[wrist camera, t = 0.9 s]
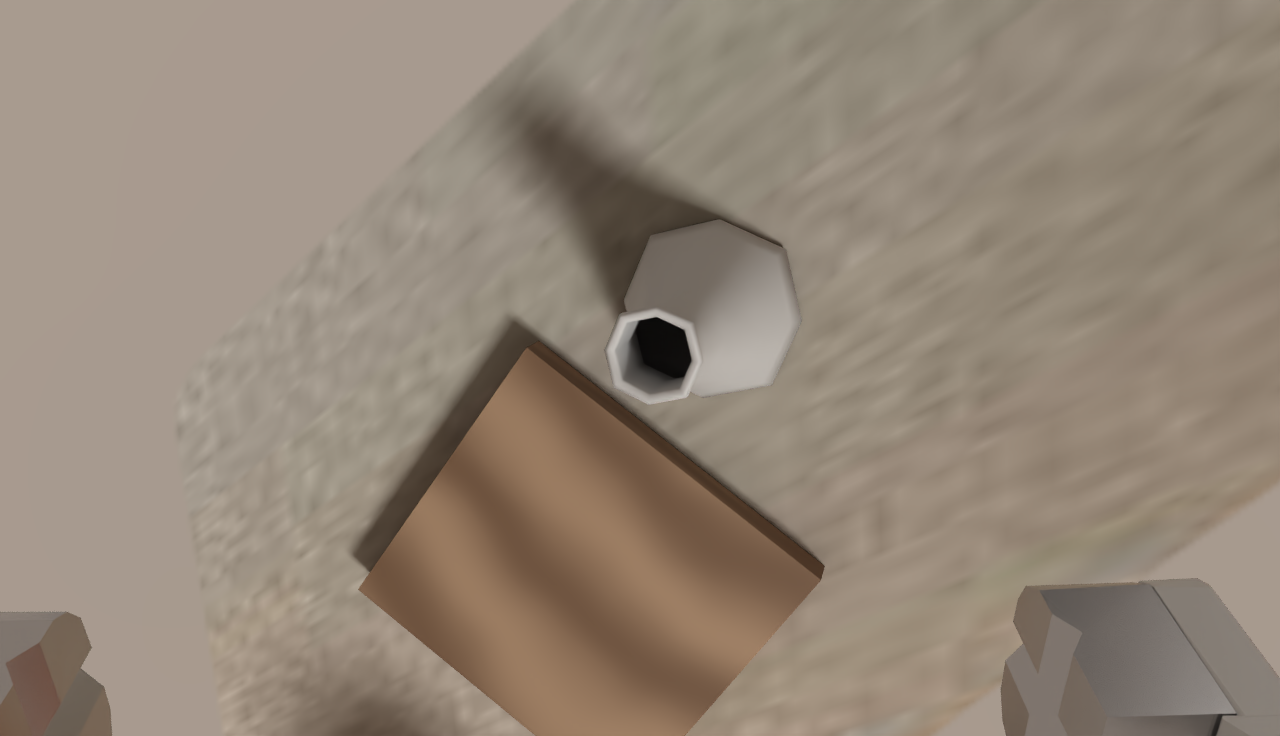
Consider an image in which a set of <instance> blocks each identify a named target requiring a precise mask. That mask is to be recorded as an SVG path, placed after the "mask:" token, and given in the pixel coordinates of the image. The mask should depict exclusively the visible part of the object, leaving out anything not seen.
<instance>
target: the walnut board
mask: <svg viewBox="0 0 1280 736" xmlns="http://www.w3.org/2000/svg"><path fill="white" fill-rule="evenodd" d="M824 567H825V566H824V565H823V564H821V563H820V562H819V561H817V560H816V559H815V558H814V557H812V556H811V555H810V554H809V553H807V552H806V551H805V550H803V549H802V548H801V547H800V546H798V545H797V544H796V543H795V542H793V541H792V540H791V539H790V538H788V537H787V536H786V535H784V534H783V533H782V532H781V531H779V530H778V529H777V528H776V527H774V526H773V525H772V524H770V523H769V522H768V521H767V520H765V519H764V518H763V517H762V516H760V515H759V514H758V513H757V512H755V511H754V510H753V509H751V508H750V507H749V506H748V505H746V504H745V503H744V502H743V501H741V500H740V499H739V498H738V497H736V496H735V495H734V494H732V493H731V492H730V491H729V490H727V489H726V488H725V487H724V486H722V485H721V484H720V483H718V482H717V481H716V480H715V479H713V478H712V477H711V476H710V475H708V474H707V473H706V472H705V471H703V470H702V469H701V468H699V467H698V466H697V465H696V464H694V463H693V462H692V461H691V460H689V459H688V458H687V457H685V456H684V455H683V454H682V453H680V452H679V451H678V450H677V449H675V448H674V447H673V446H672V445H670V444H669V443H668V442H666V441H665V440H664V439H663V438H661V437H660V436H659V435H658V434H656V433H655V432H654V431H653V430H651V429H650V428H649V427H647V426H646V425H645V424H644V423H642V422H641V421H640V420H639V419H637V418H636V417H635V416H633V415H632V414H631V413H630V412H628V411H627V410H626V409H625V408H623V407H622V406H621V405H620V404H618V403H617V402H616V401H614V400H613V399H612V398H611V397H609V396H608V395H607V394H606V393H604V392H603V391H602V390H600V389H599V388H598V387H597V386H595V385H594V384H593V383H592V382H590V381H589V380H588V379H587V378H585V377H584V376H583V375H581V374H580V373H579V372H578V371H576V370H575V369H574V368H573V367H571V366H570V365H569V364H568V363H566V362H565V361H564V360H562V359H561V358H560V357H559V356H557V355H556V354H555V353H554V352H552V351H551V350H550V349H548V348H547V347H546V346H545V345H543V344H542V343H541V342H540V341H538V342H536V343H534V344H532V345H530V346H529V347H527V348H526V349H525V350H524V352H523V353H522V355H521V356H520V358H519V359H518V361H517V362H516V363H515V365H514V366H513V368H512V369H511V371H510V372H509V373H508V375H507V376H506V378H505V379H504V381H503V382H502V384H501V385H500V386H499V388H498V389H497V391H496V392H495V394H494V395H493V396H492V398H491V399H490V401H489V402H488V404H487V405H486V407H485V408H484V409H483V411H482V412H481V414H480V415H479V417H478V418H477V419H476V421H475V422H474V424H473V425H472V427H471V428H470V429H469V431H468V432H467V434H466V435H465V437H464V438H463V440H462V441H461V442H460V444H459V445H458V447H457V448H456V450H455V451H454V452H453V454H452V455H451V457H450V458H449V460H448V461H447V463H446V464H445V465H444V467H443V468H442V470H441V471H440V473H439V474H438V475H437V477H436V478H435V480H434V481H433V483H432V484H431V486H430V487H429V488H428V490H427V491H426V493H425V494H424V496H423V497H422V498H421V500H420V501H419V503H418V504H417V506H416V507H415V509H414V510H413V511H412V513H411V514H410V516H409V517H408V519H407V520H406V521H405V523H404V524H403V526H402V527H401V529H400V530H399V531H398V533H397V534H396V536H395V537H394V539H393V540H392V542H391V543H390V544H389V546H388V547H387V549H386V550H385V552H384V553H383V554H382V556H381V557H380V559H379V560H378V562H377V563H376V565H375V566H374V567H373V569H372V570H371V572H370V573H369V575H368V576H367V577H366V579H365V580H364V582H363V583H362V585H361V586H360V588H359V589H358V590H359V591H361V592H362V593H363V594H364V595H365V596H367V597H368V598H369V599H370V600H372V601H373V602H374V603H375V604H376V605H378V606H379V607H380V608H381V609H382V610H384V611H385V612H386V613H387V614H388V615H390V616H391V617H392V618H393V619H395V620H396V621H397V622H398V623H399V624H401V625H402V626H403V627H404V628H405V629H407V630H408V631H409V632H410V633H412V634H413V635H414V636H415V637H416V638H418V639H419V640H420V641H421V642H422V643H424V644H425V645H426V646H427V647H429V648H430V649H431V650H432V651H433V652H435V653H436V654H437V655H438V656H439V657H441V658H442V659H443V660H444V661H446V662H447V663H448V664H449V665H450V666H452V667H453V668H454V669H455V670H456V671H458V672H459V673H460V674H461V675H463V676H464V677H465V678H466V679H467V680H469V681H470V682H471V683H472V684H473V685H475V686H476V687H477V688H478V689H479V690H481V691H482V692H483V693H484V694H486V695H487V696H488V697H489V698H490V699H492V700H493V701H494V702H495V703H496V704H498V705H499V706H500V707H501V708H503V709H504V710H505V711H506V712H507V713H509V714H510V715H511V716H512V717H513V718H515V719H516V720H517V721H518V722H520V723H521V724H522V725H523V726H524V727H526V728H527V729H528V730H529V731H530V732H532V733H533V734H534V735H535V736H685V735H686V734H687V733H688V731H689V730H690V729H691V728H692V727H693V726H694V725H695V723H696V722H697V721H698V720H699V719H700V718H701V717H702V715H703V714H704V713H705V712H706V711H707V710H708V709H709V707H710V706H711V705H712V704H713V703H714V702H715V701H716V699H717V698H718V697H719V696H720V695H721V694H722V693H723V691H724V690H725V689H726V688H727V687H728V686H729V685H730V683H731V682H732V681H733V680H734V679H735V678H736V677H737V675H738V674H739V673H740V672H741V671H742V670H743V669H744V667H745V666H746V665H747V664H748V663H749V662H750V661H751V659H752V658H753V657H754V656H755V655H756V654H757V653H758V651H759V650H760V649H761V648H762V647H763V646H764V645H765V643H766V642H767V641H768V640H769V639H770V638H771V637H772V635H773V634H774V633H775V632H776V631H777V630H778V629H779V627H780V626H781V625H782V624H783V623H784V622H785V621H786V619H787V618H788V617H789V616H790V615H791V614H792V613H793V611H794V610H795V609H796V608H797V607H798V606H799V605H800V603H801V602H802V601H803V600H804V599H805V598H806V597H807V595H808V594H809V593H810V592H811V591H812V590H813V588H814V587H815V586H816V585H817V584H818V583H819V582H820V580H821V578H822V574H823V570H824Z"/></svg>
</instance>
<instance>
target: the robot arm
mask: <svg viewBox="0 0 1280 736" xmlns="http://www.w3.org/2000/svg"><path fill="white" fill-rule="evenodd" d="M1013 622H1014V624H1015V627H1016V629H1017V631H1018V633H1019V635H1020V637H1021V639H1022V641H1023V644H1022V645H1021V646H1020V647H1019V648H1018V649H1017V650H1016V651H1015V652H1014V653H1013V654H1012V655H1011V656H1010V657H1009V658H1008V659H1006V660H1005V666H1004V672H1003V679H1002V685H1001V703H1002V719H1003V724H1004V729H1005V733H1006V736H1280V678H1279V676H1278V675H1277V674H1276V672H1275V671H1274V670H1273V668H1272V667H1271V666H1270V664H1269V663H1268V662H1267V660H1266V659H1265V658H1264V656H1263V655H1262V654H1261V652H1260V651H1259V650H1258V649H1257V647H1256V646H1255V644H1254V643H1253V642H1252V640H1251V639H1250V638H1249V636H1248V635H1247V634H1246V632H1245V631H1244V630H1243V628H1242V627H1241V626H1240V624H1239V623H1238V622H1237V620H1236V619H1235V618H1234V616H1233V615H1232V614H1231V612H1230V611H1229V610H1228V608H1227V607H1226V606H1225V604H1224V603H1223V602H1222V600H1221V599H1220V598H1219V596H1218V595H1217V594H1216V592H1215V591H1214V590H1213V588H1212V587H1211V586H1210V585H1209V584H1207V583H1205V582H1203V581H1201V580H1200V579H1198V578H1191V579H1169V580H1148V581H1140V582H1138V583H1133V582H1130V583H1101V584H1071V585H1041V586H1026V587H1025V588H1024V590H1023V592H1022V593H1021V595H1020V597H1019V598H1018V602H1017V606H1016V611H1015V616H1014V620H1013ZM91 648H92V647H91V645H90V642H89V639H88V637H87V634H86V631H85V629H84V626H83V623H82V620H81V618H80V617H77V616H75V615H73V614H70V613H68V612H0V736H112V726H111V712H110V706H109V703H108V699H107V696H106V692H105V689H104V686H102V685H101V684H100V683H98V682H97V681H96V680H95V679H93V678H92V677H91V676H90V675H88V674H87V673H86V672H84V671H83V670H82V669H81V666H82V664H83V662H84V661H85V659H86V657H87V655H88V653H89V651H90V650H91Z"/></svg>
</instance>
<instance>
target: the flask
mask: <svg viewBox="0 0 1280 736" xmlns="http://www.w3.org/2000/svg"><path fill="white" fill-rule="evenodd" d="M624 303H625V307H626V311H627V312H624V313H620V314H619V316H618V318H617V321H616V323H615V325H614V328H613V330H612V333H611V335H610V337H609V340H608V342H607V345H606V347H605V349H604V350H605V354H606V359H607V363H608V367H609V371H610V375H611V379H612V383H613V387H614V388H615V389H618V390H620V391H622V392H624V393H626V394H628V395H630V396H632V397H634V398H636V399H638V400H640V401H642V402H644V403H646V404H648V405H649V404H655V403H660V402H665V401H671V400H676V399H681V398H686V397H688V395H689V393H690V392H692V393H694V394H696V395H698V396H700V397H702V398H705V397H711V396H716V395H721V394H727V393H732V392H737V391H743V390H748V389H754V388H759V387H764V386H770V385H772V384H773V381H774V379H775V377H776V375H777V373H778V371H779V369H780V366H781V364H782V362H783V360H784V358H785V356H786V354H787V352H788V349H789V347H790V345H791V343H792V341H793V339H794V337H795V334H796V332H797V330H798V328H799V326H800V324H801V322H802V319H801V315H800V310H799V306H798V301H797V297H796V292H795V288H794V283H793V278H792V274H791V269H790V265H789V260H788V256H787V251H786V249H784V248H782V247H780V246H778V245H775V244H773V243H771V242H769V241H767V240H764V239H762V238H760V237H758V236H756V235H753V234H751V233H749V232H747V231H745V230H742V229H740V228H738V227H736V226H734V225H731V224H729V223H727V222H725V221H723V220H720V219H718V220H714V221H709V222H705V223H701V224H696V225H692V226H688V227H683V228H679V229H675V230H671V231H666V232H662V233H658V234H653V235H650V238H649V240H648V242H647V245H646V247H645V250H644V252H643V255H642V257H641V259H640V262H639V264H638V267H637V269H636V271H635V274H634V276H633V279H632V281H631V283H630V286H629V288H628V291H627V293H626V295H625V298H624Z"/></svg>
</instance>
